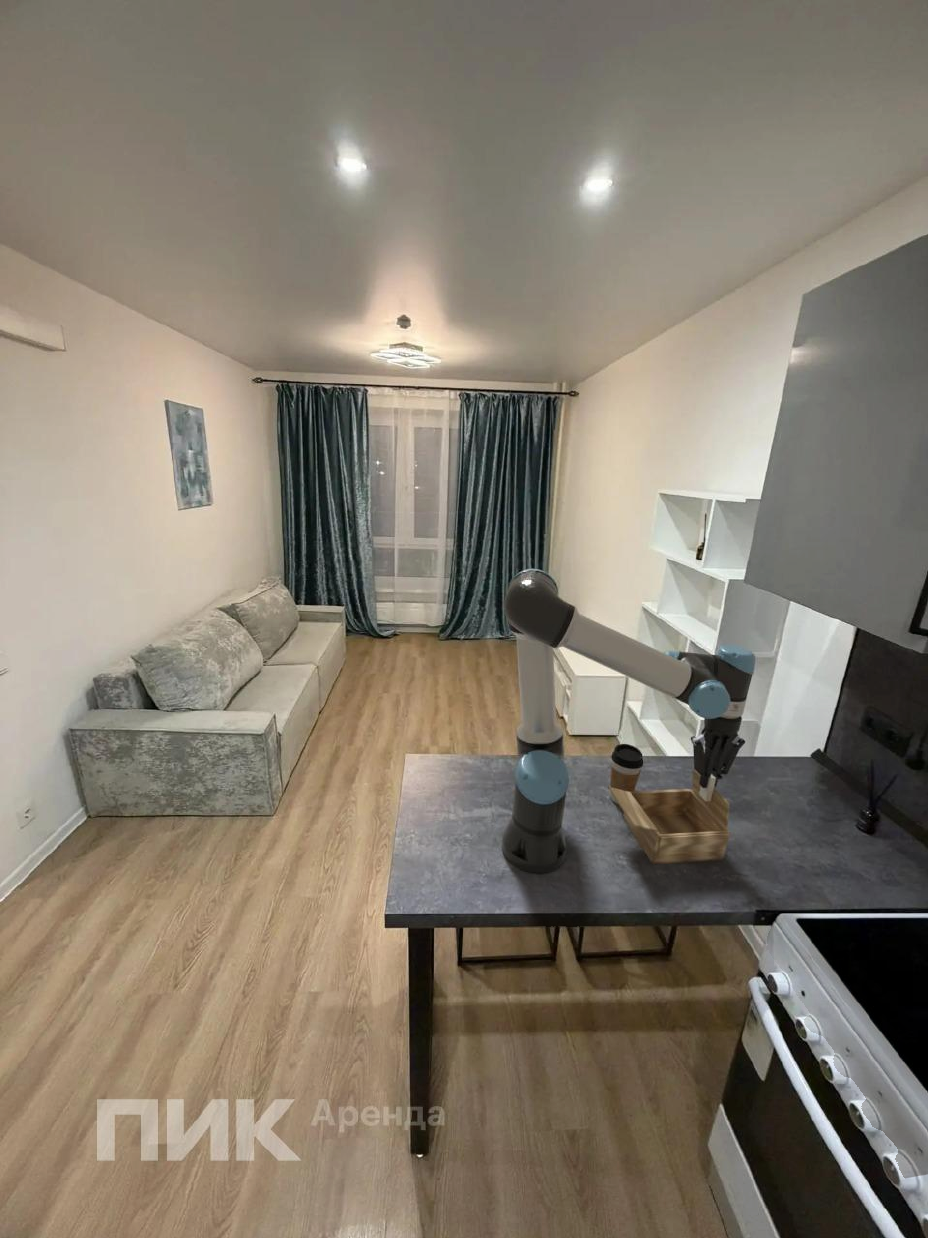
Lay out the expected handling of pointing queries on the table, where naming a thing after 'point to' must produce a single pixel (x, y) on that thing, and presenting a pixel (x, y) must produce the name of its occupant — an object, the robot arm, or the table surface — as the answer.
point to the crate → (679, 828)
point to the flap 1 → (632, 809)
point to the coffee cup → (625, 768)
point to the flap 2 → (712, 800)
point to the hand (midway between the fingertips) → (704, 797)
